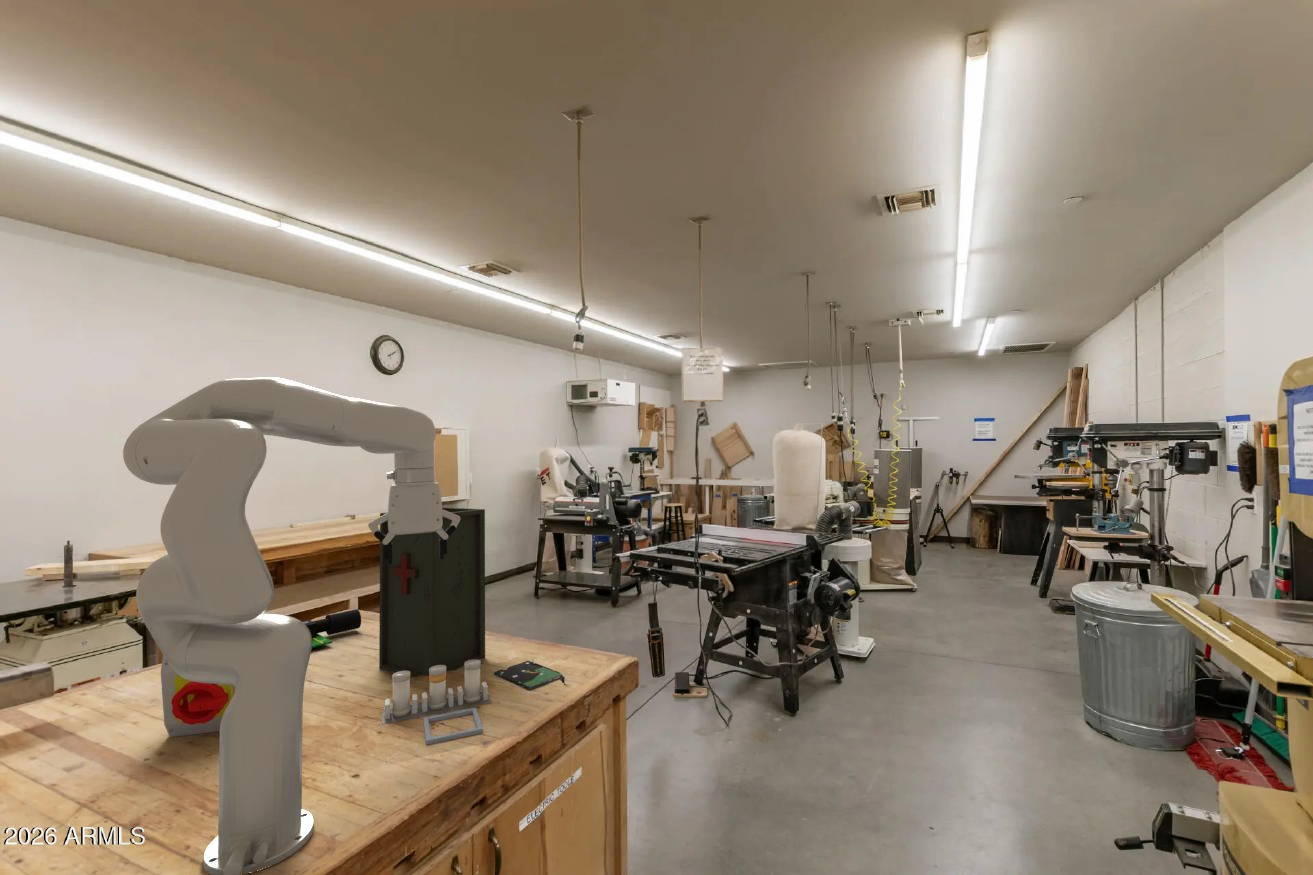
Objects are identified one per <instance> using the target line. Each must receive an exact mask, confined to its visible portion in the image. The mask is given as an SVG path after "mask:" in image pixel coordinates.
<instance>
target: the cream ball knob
mask: <svg viewBox="0 0 1313 875" xmlns="http://www.w3.org/2000/svg"><path fill="white" fill-rule="evenodd" d="M481 662H482V661H481V660H468V661H466V662H465V663H464V667H463V668H464V694H463V695H464V702H465V703H475V702H478V701H480V699H481V694H480V692H481V666H482V665H481Z"/></svg>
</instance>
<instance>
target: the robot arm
mask: <svg viewBox="0 0 1313 875" xmlns="http://www.w3.org/2000/svg"><path fill="white" fill-rule="evenodd" d="M436 431H437V430H436V427H435V424H434V421H433V420H432V419H431V418H430V417H429V416H428V415H426V414H424V413H423V412H421V411H418V410H414V409H411V408H408V407H404V406H401V405H396V404H390V403H389V404H388V403H383V402H377V401H372V400H367V399H362V398H357V397H356V398H355V397H350V396H349V397H348V396H344V395H340V394H336V393H333V392H329V391H326V390H323V389H320V388H316V387H313V386H310V385H306V384H303V383H300V382H297V381H294V380H289V379H286V378H282V377H281V378H280V377H272V376H271V377H269V376H267V377H265V376H264V377H251V378H250V377H249V378H247V377H246V378H244V377H243V378H229V379H223V380H220V381H216V382H213V383H211V384H208V385H207V386H204V387H203V388H201V389H198V390H197V391H195V392H193V393H191V394H190V395H188V396H187V397H185V398H183V399H182V400H180V401H178V402H175V403H174V404H172V405H171V406H169V407H168V408H166V409H165V410H162V411H161V412H159V413H157V414H156V415H154V416H152V417H150V418H149V419H147V420H145V421H144V422H142V423H141V424H139V425H138V426H137V427H136V428H135V429H134V430H133V431H132V432H131V433H130V434H129V435H128V437H127V438H126V440H125V442H124V446H123V449H122V456H123V462H124V465H125V467H126V468H127V470H128V471H129V472H130V473H131V474H132V475H133V476H134V477H136V478H137V479H139V480H141V481H144V482H147V483H149V484H154V485H161V486H162V485H163V486H167V485H169V486H172V485H173V486H174V485H175V487H174V489H173V491H172V493H171V494H170V496H169V497H168V498H169V499H168V501H167V503H166V504H165V506H164V509H163V513H162V516H161V520H160V526H159V527H160V528H159V529H160V536H161V540H162V544H163V546H164V548H165V550H166V553H167V554H165V555H163V556H161V557H159V558H158V559H156V560H154V561H153V562H152V563H151V564H150V565H148V566H147V567H146V569H145V570H144V571H143V573H142V574H141V576H140V578H139V580H138V583H137V587H136V593H135V599H136V602H135V603H136V606H137V607H136V608H137V610H138V613H139V615H140V617H141V619H142V621H143V623H144V625H145V626H146V628H147V630H148V631H149V633H150V635H151V637H152V639H153V640H154V642H155V643H156V645H157V646H158V649H159V650H160V652H161V653H162V656H163V655H164V656H165V658H166V660H167V661H168V663H169V664H170V666H171V667H172V668H173V670H174V671H175V672H176V673H177V674H178V675H180V676H181V677H183V678H184V679H187V680H189V681H193V682H199V683H211V684H225V685H231V686H235V693H234V696H233V697H232V699H231V701H230V703H229V704H228V706H227V708H226V710H225V712H224V714H223V716H222V720H221V724H220V731H219V753H218V755H219V756H218V757H219V759H218V760H219V761H218V766H219V767H218V820H217V821H218V822H217V823H218V824H217V825H218V827H217V829H218V830H217V836H216V837H215V838H214V839H213V840H212V841H210V843H209V844H208V845H207V847H206V849H205V850H204V852H203V856H202V868H203V869H204V871H205V872H206V873H208V874H209V875H241V874H246V875H248V874H247V873H249V872H253V873H255V872H254V871H257V870H260V869H262V868H265V867H268V866H270V867H272V866H274V865H277V864H278V863H280V862H282V861H283V860H286V859H287V858H289V857H291V855H293V854H294V853H296V852H298V851H299V850H300V849H301V848H302V847H303V846H304V845H305V844H306V843H307V842H308V841H309V840H310V838H311V836H312V835H313V833H314V829H315V818H314V816H313V814H312V813H310V812H309V811H308V810H305V809H303V808H302V805H303V802H302V801H303V795H302V794H303V721H304V720H303V716H304V714H303V713H304V712H303V710H304V706H303V704H304V691H305V690H304V689H305V682H306V675H307V671H308V666H309V663H310V657H311V652H312V649H313V648H312V638H311V634H310V631H309V629H308V628H307V626H306V625H305V624H304V623H303V622H301V621H302V620H300V619H297V618H296V617H293V616H290V615H285V614H280V613H279V614H278V613H277V614H276V613H265V612H266V611H267V610H268V609H269V607H270V606H271V604H272V602H273V600H274V596H275V588H274V582H273V577H272V575H271V573H270V570H269V568H268V566H267V563H266V562H265V560H264V557H263V556H262V554H261V551H260V549H259V547H258V544H257V542H256V540H255V538H254V535H253V533H252V531H251V528H250V527H249V523H248V520H247V517H246V504H247V499H248V495H249V494H250V491H251V488H252V486H253V484H254V482H255V480H256V479H257V477H258V475H259V473H260V472H261V470H262V468H263V466H264V464H265V461H266V459H267V457H266V456H267V452H268V451H267V450H268V449H267V448H268V447H267V442H266V439H265V436H272V437H279V438H285V439H290V440H299V441H304V442H310V443H315V444H318V445H319V444H320V445H324V446H332V447H346V448H347V447H349V448H350V447H351V448H352V447H355V448H356V447H360V448H361V449H362V450H363V451H366V452H367V453H370V454H377V455H380V454H381V455H382V454H385V455H386V454H387V455H388V454H389V455H391V454H394V458H393V459H394V462H393V463H394V470H392V471H390V472H386V479H387V480H392V481H394V484H391V485H390V487H389V488H390V489H389V493H388V495H389V496H388V503H387V504H388V506H387V512H388V513H386V512H385V513H386V514H384V515H383V516H381V517H380V516H379V517H378V518H376V519H375V518H374V519H373V520H371V521H370V522H369V523H367V524H368V525H367V526H368V528H369V529H370V531H371V533H372V535H373V536H374V537H375V538H376V539H377V540H378V541H379V542H380V541H381V542H382V543H383V544H384V558H385V560H388V564H392V562H393V547H392V543H391V540H392V539H393V537H394V536H395V535H403V534H416V533H428V532H437V533H438V534H439V535H440V539H439V557H440V559H444V554H447V539H448V537H449V536H450V535H451V534H452V533H453V532H454V531H455V530H456V527H457V525H458V523H459V521H460V519H461V518H460V516H458V515H455V514H453V513H450V512H448V511H446V510H443V509H442V507H443V502H442V494H441V488H440V484H439V482H436V481H435V479H436V478H435V476H436V475H435V471H436V470H435V440H436V435H437V434H436V433H437V432H436ZM443 517H446V518H448V519H451V520H452V523H451V525H450V526H449V527H448V528H447V529H446V530H444V529H443V528H442V525H443ZM387 520H388V530H389V532H388V534H387V535H385V534H383V533H382V532H381V531H380V527H379V526H380V524H381V523H383V522H385V521H387ZM277 862H278V863H277ZM273 864H274V865H273ZM271 865H272V866H271ZM268 868H269V867H268ZM265 869H266V868H265ZM262 870H263V869H262ZM260 871H261V870H260ZM257 872H258V871H257Z"/></svg>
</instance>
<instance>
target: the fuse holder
mask: <svg viewBox="0 0 1313 875" xmlns="http://www.w3.org/2000/svg"><path fill="white" fill-rule="evenodd" d="M480 694H481V699H480V701H478V702H475V703H465V702H464V695H465V694H464V691H463V687H462V685H459V686H457V687H456V696H454V689H453V687H448V688H447V697H446V707H444V708H442V709H439V710H430V709H429V702H430V700H429V701H428V692H422V693H421V702H418V694H417V693H413V694H411V696H412V697H411V698H412V699H411V701H412V702H411V704H410V713H409V714H408V715H406V716H402V717H393V716H392V709H393V707H391V698H386V699H385V700H384V709H382V711H381V712H382V716H381V725H386V724H391V723H398V722H402V721H408V720H412V719H417V718H423V717H429V716H435V715H440V714H445V713H450V712H455V711H458V710H459V711H460V710H465V709H471V708H476V707H479V706H484V705H490V704H492V700H491V697H490V695H489V686H488V684H487V682H486V681H482V682H481V691H480Z"/></svg>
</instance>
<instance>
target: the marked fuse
mask: <svg viewBox="0 0 1313 875" xmlns="http://www.w3.org/2000/svg"><path fill="white" fill-rule="evenodd" d="M428 676H429V680H428V681H429V701H430V702H429V709H430V710H439V709H442V708H444V707H446V698H447V672H446V666H445V665H436V666H433V667H431V668H429V675H428Z"/></svg>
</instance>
